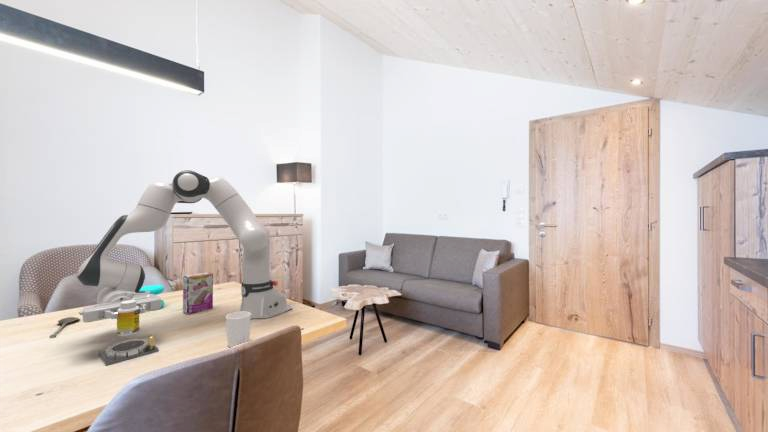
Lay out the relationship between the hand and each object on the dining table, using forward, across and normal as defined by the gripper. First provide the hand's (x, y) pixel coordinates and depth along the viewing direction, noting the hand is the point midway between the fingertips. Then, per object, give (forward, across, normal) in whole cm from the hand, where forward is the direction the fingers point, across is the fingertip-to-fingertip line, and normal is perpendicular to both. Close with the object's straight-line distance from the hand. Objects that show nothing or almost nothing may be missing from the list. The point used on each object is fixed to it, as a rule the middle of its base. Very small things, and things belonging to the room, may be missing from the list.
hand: (129, 313), depth 102 cm
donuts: (-52, +18, +14) cm, 56 cm away
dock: (-2, 0, +13) cm, 13 cm away
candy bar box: (-32, +31, +13) cm, 46 cm away
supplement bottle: (-1, 0, +7) cm, 7 cm away
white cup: (+18, +26, +13) cm, 35 cm away
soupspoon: (-47, -12, +14) cm, 50 cm away
